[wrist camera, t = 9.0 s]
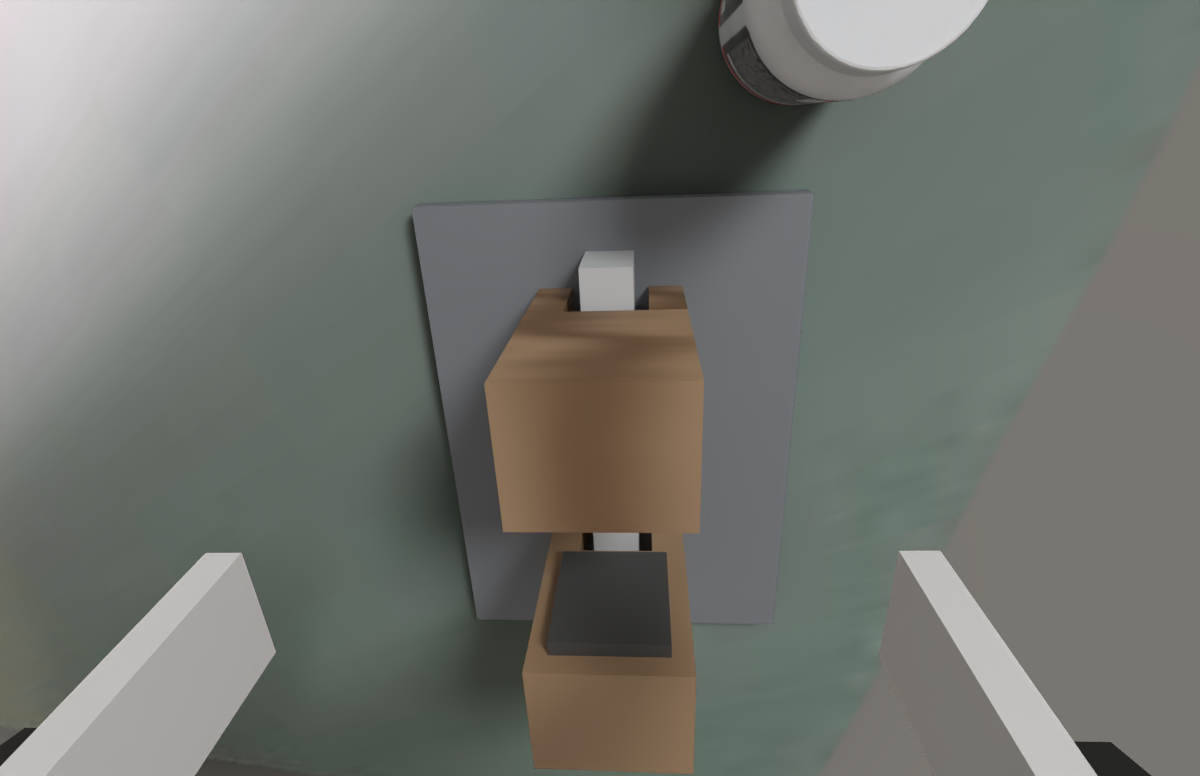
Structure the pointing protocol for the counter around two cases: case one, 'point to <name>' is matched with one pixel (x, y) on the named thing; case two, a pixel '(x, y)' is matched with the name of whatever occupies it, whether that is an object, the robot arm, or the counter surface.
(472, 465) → the rail
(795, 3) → the pill bottle
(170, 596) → the robot arm
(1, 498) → the counter surface
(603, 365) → the notched tan block
